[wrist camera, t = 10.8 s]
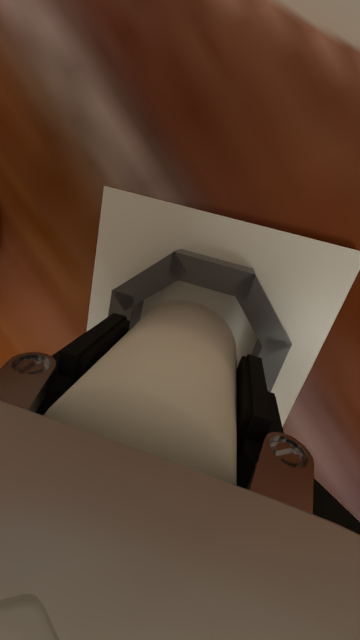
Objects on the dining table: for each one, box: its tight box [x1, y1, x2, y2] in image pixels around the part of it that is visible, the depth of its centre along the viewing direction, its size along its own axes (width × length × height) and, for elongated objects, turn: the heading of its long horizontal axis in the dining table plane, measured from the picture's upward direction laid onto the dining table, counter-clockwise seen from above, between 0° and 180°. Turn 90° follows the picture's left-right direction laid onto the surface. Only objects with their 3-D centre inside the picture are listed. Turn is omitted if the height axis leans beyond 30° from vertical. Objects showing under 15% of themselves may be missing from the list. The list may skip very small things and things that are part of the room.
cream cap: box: [43, 300, 237, 485], centre depth 10 cm, size 5×5×7 cm
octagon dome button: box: [86, 186, 360, 427], centre depth 15 cm, size 13×13×3 cm
